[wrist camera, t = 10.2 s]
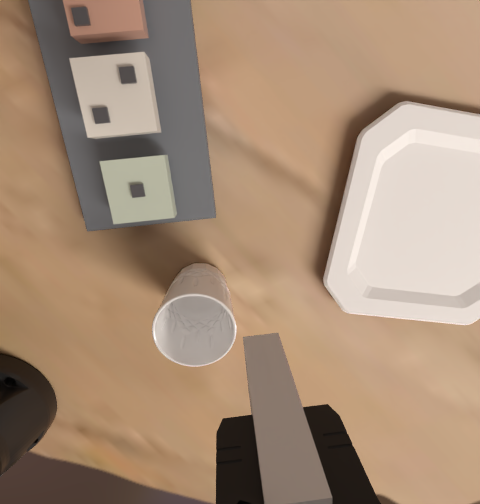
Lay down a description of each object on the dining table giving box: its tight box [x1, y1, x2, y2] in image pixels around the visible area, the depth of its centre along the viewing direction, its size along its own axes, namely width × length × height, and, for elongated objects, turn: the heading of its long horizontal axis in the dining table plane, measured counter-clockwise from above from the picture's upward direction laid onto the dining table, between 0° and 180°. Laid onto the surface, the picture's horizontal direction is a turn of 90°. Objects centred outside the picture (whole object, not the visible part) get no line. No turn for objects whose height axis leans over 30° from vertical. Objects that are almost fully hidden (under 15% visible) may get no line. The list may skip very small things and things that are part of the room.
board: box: [28, 0, 216, 231], centre depth 31 cm, size 14×24×2 cm, turn 5°
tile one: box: [99, 155, 177, 224], centre depth 30 cm, size 6×6×2 cm
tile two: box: [69, 52, 161, 139], centre depth 27 cm, size 6×6×2 cm
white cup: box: [152, 263, 236, 367], centre depth 34 cm, size 8×8×10 cm
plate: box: [323, 101, 480, 325], centre depth 37 cm, size 25×25×2 cm
